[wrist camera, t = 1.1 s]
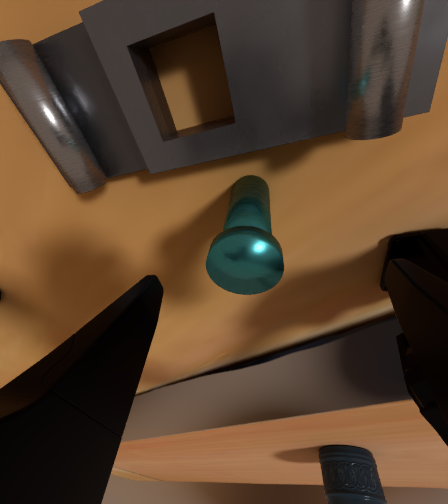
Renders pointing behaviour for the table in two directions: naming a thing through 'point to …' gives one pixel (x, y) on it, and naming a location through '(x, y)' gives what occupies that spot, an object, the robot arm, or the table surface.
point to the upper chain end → (278, 69)
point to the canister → (350, 476)
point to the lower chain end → (79, 104)
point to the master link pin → (246, 242)
